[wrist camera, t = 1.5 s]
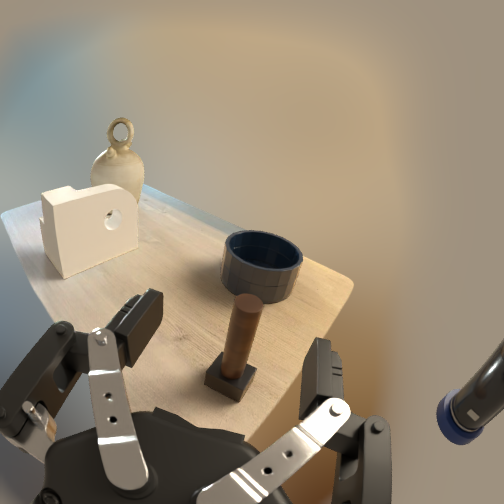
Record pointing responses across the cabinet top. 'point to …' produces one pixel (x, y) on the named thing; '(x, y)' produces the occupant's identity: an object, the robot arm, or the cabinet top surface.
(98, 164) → the jug
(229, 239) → the pot
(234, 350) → the brown cylinder
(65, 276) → the tape dispenser
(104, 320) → the cabinet top surface
